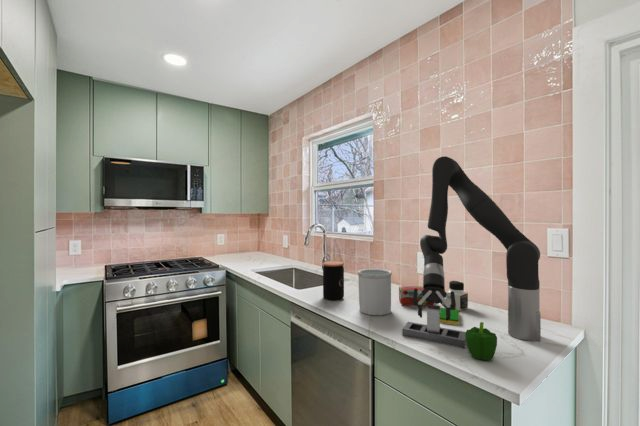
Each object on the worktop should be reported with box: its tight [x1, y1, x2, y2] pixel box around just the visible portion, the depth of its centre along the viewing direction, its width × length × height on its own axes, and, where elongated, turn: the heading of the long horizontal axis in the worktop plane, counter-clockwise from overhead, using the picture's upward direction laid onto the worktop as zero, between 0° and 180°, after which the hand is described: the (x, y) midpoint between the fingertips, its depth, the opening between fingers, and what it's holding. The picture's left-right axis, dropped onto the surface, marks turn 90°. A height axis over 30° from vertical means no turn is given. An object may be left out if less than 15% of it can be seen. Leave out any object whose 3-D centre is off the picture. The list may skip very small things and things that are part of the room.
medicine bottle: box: [445, 280, 469, 312], centre depth 137 cm, size 7×7×12 cm
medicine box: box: [398, 284, 435, 307], centre depth 144 cm, size 15×8×8 cm, turn 84°
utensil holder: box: [357, 268, 393, 316], centre depth 134 cm, size 15×15×18 cm
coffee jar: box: [322, 260, 345, 302], centre depth 154 cm, size 11×11×18 cm
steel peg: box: [426, 304, 441, 335], centre depth 105 cm, size 4×4×10 cm
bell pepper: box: [465, 321, 498, 362], centre depth 91 cm, size 8×8×10 cm
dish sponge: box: [440, 307, 460, 326], centre depth 124 cm, size 7×14×2 cm, turn 156°
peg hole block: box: [401, 321, 467, 349], centre depth 105 cm, size 20×8×2 cm, turn 59°
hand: (433, 318), depth 104 cm, fingers open, 8 cm apart
